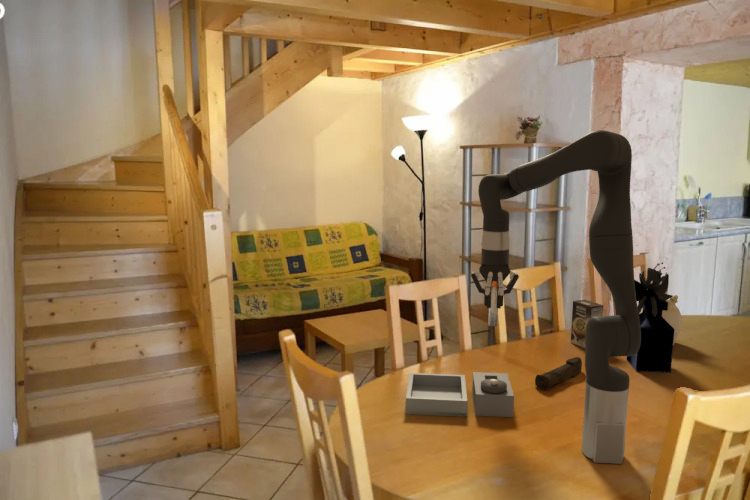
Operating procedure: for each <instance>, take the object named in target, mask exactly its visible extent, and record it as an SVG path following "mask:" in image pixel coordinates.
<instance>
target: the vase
mask: <svg viewBox="0 0 750 500" xmlns="http://www.w3.org/2000/svg"><path fill="white" fill-rule="evenodd" d="M663 264H664V262H660V263H657V264H656V265H655V266H654V268H651V267H647V271H646V275H645V270H642V272H639V273H638V274H639V275H638V278H639V281H638V280H636V279H634V282H635V293H636V300H637V307H638V314H639V313H640V312H641V309H642V308H643V312H642V313H640V314H639V321H640V328H641V345H640V348H639V351H638V352H637V353H636V354H635V355H632V356H626V362H628V364H630V366H631V367H632V368H633V370H634V371H635V372H646V373H647V372H649V373H672V365H673V364H672V363H673V362H672V360H673V351H674V345H673V341H674V328H673V327H672V326H671V325H670V324H669V323H668V322H667V321H666V320H665V319H664V318H663V317H662V310H664V311H668V302H666V301H665V300H670V298H671V297H673V296H674V295H672V294H668V293H667V294H665V293H666V291H667V289H668V290H669V282H670V281H669V280H670V279H669V278H670V275H669V273H668V272H665V274H664V275H663V273H662V271H661V270H663V269H664V270H665V269H666V267H665V266H663V267H661V268H660V269H659V270H656V268H657V267H658V266H660V265H663ZM645 276H646V278H645ZM661 277H662V278H661Z"/></svg>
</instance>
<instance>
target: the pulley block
mask: <svg viewBox="0 0 750 500" xmlns="http://www.w3.org/2000/svg"><path fill="white" fill-rule="evenodd" d="M471 387H472V388H471V389H472V399H473V407H474V413H475V414H474V416H481V417H482V416H484V417H500V418H501V417H504V418H514V409H515V408H514V405H515V394H514V391H513V387H512V384H511V382H510V376H509V374H508V373H506V372H505V373H504V372H502V373H501V372H485V371H484V372H480V371H479V372H478V371H473V372H472V386H471Z"/></svg>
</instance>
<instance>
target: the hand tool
mask: <svg viewBox="0 0 750 500" xmlns="http://www.w3.org/2000/svg"><path fill="white" fill-rule="evenodd" d="M582 363H583V362H582V358H581V357H580V356H576V357H575V356H574V357H573V358H572V357H571V358H569V359H566V360H565V364H563V365H560V366H559V367H556V368H554V369H551V370H548V371H547V372H545V373H542V374H536V375H535V378H534V385H535V387H536V388H537V389H539V390H542V391H548V390H549V389H550V390H551V388H552V386H554V385H557V384H558V383H561V382H563V381H565V380H566V379H568V378H572V379H573V378H576V377H578V376H579V375H580V373H581V372H582V365H583V364H582Z"/></svg>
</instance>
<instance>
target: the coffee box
mask: <svg viewBox="0 0 750 500" xmlns="http://www.w3.org/2000/svg"><path fill="white" fill-rule="evenodd" d="M604 306H605V305H604V304H601V303H597V302H594V301H591V300H587V299H579V300H578V299H576V300H572V314H571V315H572V316H571V329H570V330H571V333H570V343H571V344H573V345H576V346H578V347H581V348H583V349H585V331H586V325H587V322H588V321H589V319H590V318H591V317H594V316H604Z"/></svg>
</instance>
